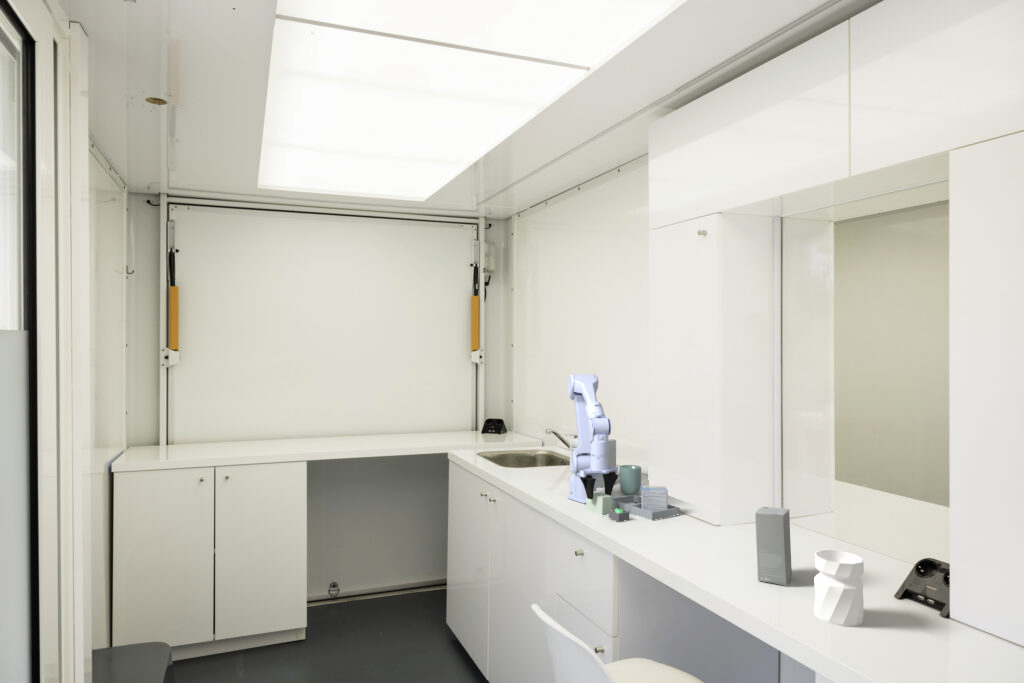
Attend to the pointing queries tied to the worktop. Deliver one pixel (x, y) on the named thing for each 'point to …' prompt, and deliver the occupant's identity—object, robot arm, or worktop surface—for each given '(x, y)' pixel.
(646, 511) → the grey divided tray
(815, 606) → the white faceted vase
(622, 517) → the button housing
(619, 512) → the button
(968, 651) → the worktop surface
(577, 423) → the robot arm
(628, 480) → the cup
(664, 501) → the medicine box
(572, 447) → the supplement box
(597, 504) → the carton
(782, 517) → the skincare box
